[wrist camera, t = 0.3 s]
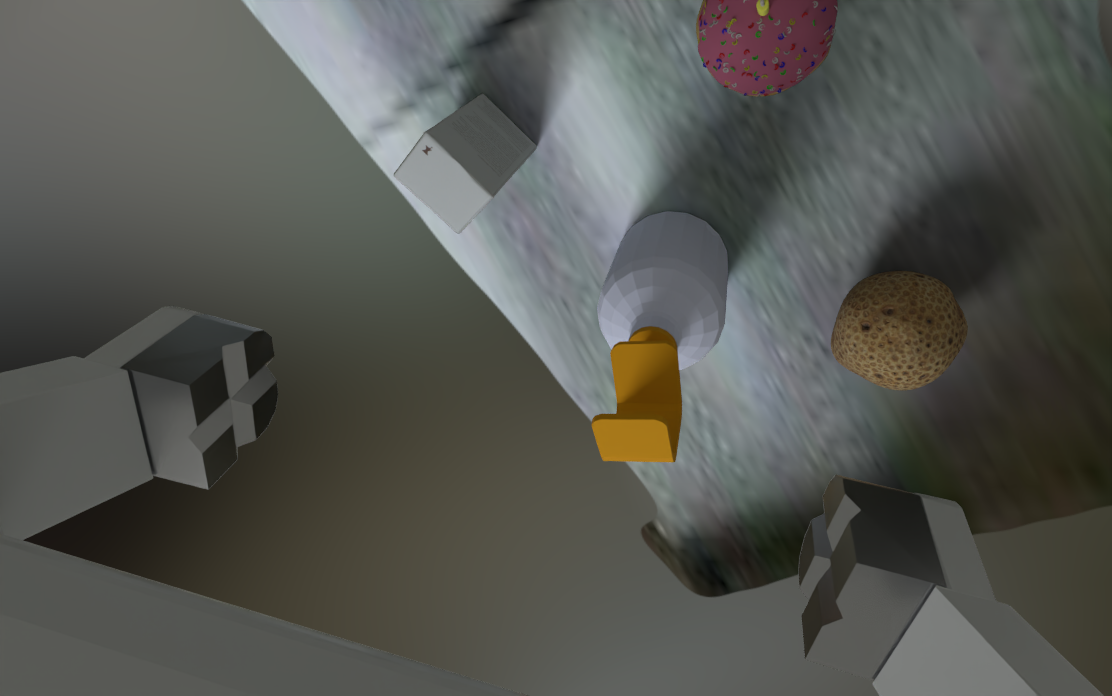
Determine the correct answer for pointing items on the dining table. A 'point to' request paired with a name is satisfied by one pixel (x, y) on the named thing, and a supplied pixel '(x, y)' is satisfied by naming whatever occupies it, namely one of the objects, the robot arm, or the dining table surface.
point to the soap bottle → (658, 329)
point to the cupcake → (764, 41)
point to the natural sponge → (899, 329)
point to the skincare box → (465, 161)
